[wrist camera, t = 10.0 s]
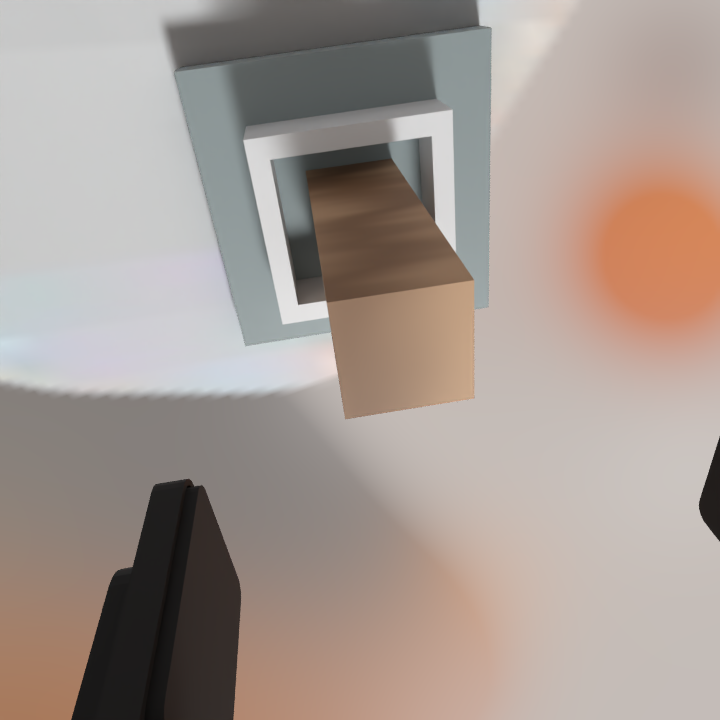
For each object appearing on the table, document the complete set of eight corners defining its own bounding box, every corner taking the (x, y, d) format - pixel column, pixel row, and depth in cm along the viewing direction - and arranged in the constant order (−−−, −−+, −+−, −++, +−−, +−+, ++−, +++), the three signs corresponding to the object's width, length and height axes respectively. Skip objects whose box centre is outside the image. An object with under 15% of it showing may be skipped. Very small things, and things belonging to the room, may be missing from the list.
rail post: (391, 158, 24) (474, 280, 14) (397, 240, 26) (474, 398, 16) (305, 170, 24) (326, 302, 14) (318, 252, 26) (344, 419, 16)
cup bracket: (479, 25, 23) (514, 31, 20) (479, 293, 30) (505, 332, 26) (179, 67, 23) (162, 81, 19) (246, 330, 29) (242, 375, 26)
